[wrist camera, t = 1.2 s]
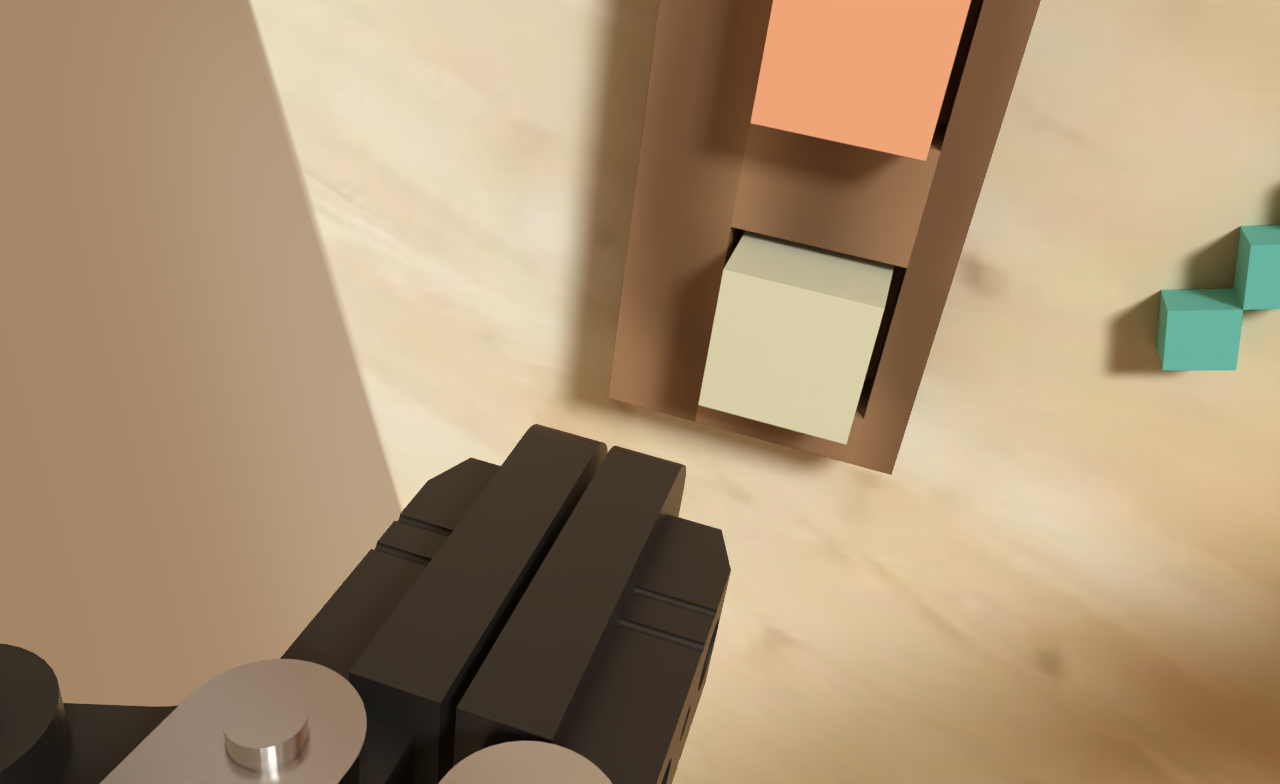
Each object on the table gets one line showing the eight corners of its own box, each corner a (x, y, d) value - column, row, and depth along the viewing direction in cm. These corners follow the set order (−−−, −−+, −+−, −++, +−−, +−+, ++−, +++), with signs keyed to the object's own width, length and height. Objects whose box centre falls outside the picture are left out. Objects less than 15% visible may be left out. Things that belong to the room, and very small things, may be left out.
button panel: (1210, -583, 26) (1243, -642, 22) (900, 420, 42) (890, 479, 38) (777, -619, 28) (744, -678, 24) (638, 351, 44) (605, 401, 40)
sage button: (895, 260, 36) (884, 308, 33) (859, 388, 39) (846, 444, 35) (748, 226, 37) (723, 269, 34) (723, 353, 40) (698, 405, 36)
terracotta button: (982, -50, 31) (979, -31, 27) (933, 123, 33) (925, 161, 30) (807, -81, 32) (784, -66, 28) (774, 90, 34) (750, 123, 31)
